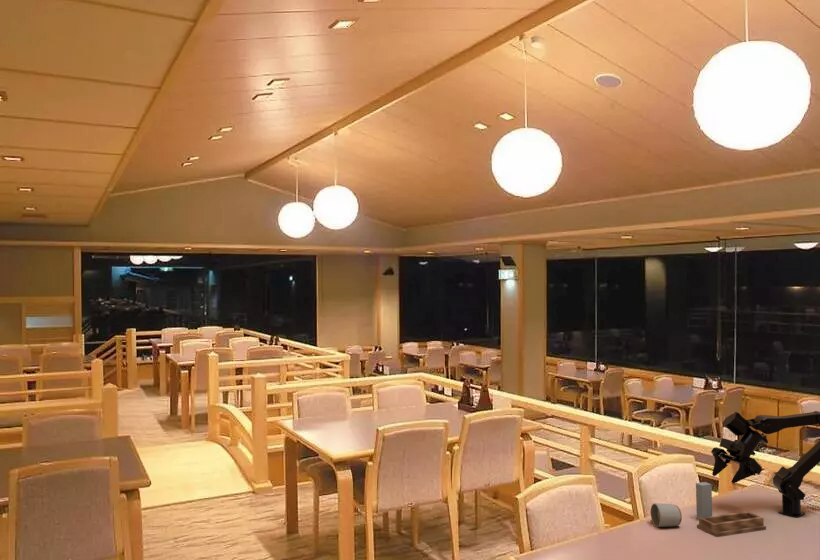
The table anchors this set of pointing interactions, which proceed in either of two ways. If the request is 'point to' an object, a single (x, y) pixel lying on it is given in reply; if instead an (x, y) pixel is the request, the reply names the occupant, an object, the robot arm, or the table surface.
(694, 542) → the table surface
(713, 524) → the open rectangular wooden box
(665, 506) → the ceramic mug
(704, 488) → the tall grey pillar block
